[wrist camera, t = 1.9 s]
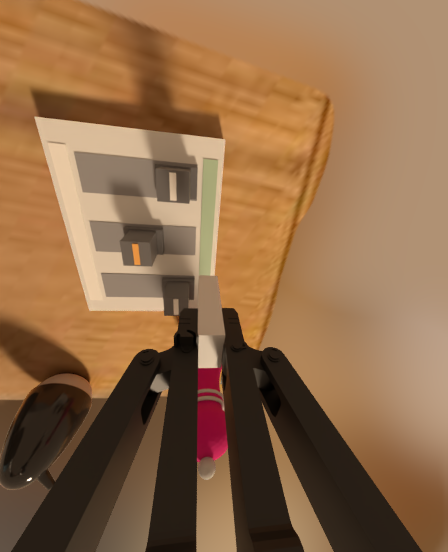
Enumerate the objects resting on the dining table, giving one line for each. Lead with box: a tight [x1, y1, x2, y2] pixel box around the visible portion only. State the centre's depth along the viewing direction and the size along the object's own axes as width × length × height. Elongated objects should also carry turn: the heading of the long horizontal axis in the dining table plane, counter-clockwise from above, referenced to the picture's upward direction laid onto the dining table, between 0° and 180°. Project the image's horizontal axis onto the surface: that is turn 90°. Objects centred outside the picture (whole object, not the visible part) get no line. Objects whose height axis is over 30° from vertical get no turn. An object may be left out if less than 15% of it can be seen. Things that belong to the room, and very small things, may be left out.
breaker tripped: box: [120, 226, 164, 267], centre depth 24 cm, size 4×3×5 cm
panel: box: [35, 117, 225, 311], centre depth 27 cm, size 18×23×2 cm
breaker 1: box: [155, 164, 198, 204], centre depth 21 cm, size 4×3×5 cm
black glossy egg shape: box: [0, 373, 92, 490], centre depth 34 cm, size 10×10×15 cm
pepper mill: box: [197, 364, 228, 480], centre depth 29 cm, size 7×7×20 cm
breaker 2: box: [162, 277, 195, 316], centre depth 28 cm, size 4×3×5 cm
